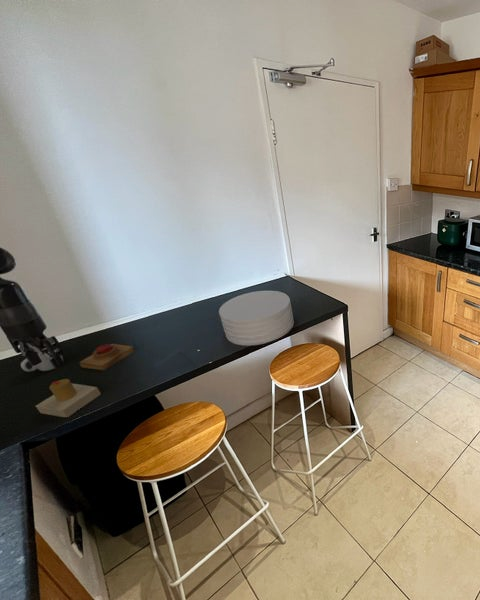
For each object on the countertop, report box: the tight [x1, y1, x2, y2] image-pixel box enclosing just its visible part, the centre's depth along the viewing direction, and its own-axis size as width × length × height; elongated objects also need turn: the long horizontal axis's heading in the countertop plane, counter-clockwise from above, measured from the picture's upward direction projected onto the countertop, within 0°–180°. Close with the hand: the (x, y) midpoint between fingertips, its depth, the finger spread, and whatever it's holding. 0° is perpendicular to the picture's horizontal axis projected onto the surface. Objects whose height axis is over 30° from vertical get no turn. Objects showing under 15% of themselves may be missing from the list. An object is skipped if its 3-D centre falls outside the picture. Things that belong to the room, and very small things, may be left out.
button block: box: [78, 343, 135, 371], centre depth 118 cm, size 12×10×4 cm
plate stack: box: [218, 290, 295, 346], centre depth 136 cm, size 28×28×12 cm
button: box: [95, 343, 112, 354], centre depth 117 cm, size 4×4×2 cm
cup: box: [20, 348, 64, 373], centre depth 112 cm, size 11×8×8 cm
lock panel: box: [35, 382, 102, 419], centre depth 98 cm, size 10×10×3 cm
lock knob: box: [49, 378, 77, 401], centre depth 96 cm, size 4×4×5 cm
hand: (48, 365), depth 92 cm, fingers open, 8 cm apart
